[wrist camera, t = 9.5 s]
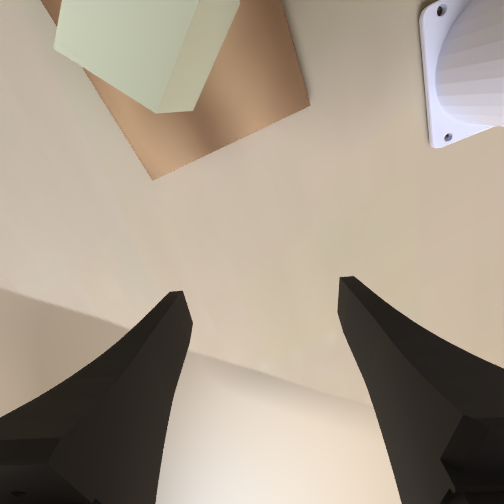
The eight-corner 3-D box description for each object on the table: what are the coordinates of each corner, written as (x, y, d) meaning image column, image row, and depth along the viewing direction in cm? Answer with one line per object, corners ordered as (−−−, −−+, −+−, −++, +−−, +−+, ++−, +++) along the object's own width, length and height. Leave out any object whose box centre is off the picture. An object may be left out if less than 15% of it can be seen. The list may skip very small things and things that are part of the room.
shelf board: (224, -190, 11) (217, -260, 9) (308, 105, 17) (315, 105, 15) (26, -36, 14) (-17, -62, 12) (156, 177, 19) (143, 186, 17)
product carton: (240, 3, 14) (227, -76, 8) (193, 110, 16) (156, 113, 10) (168, -56, 13) (89, -201, 7) (129, 69, 15) (47, 44, 9)
